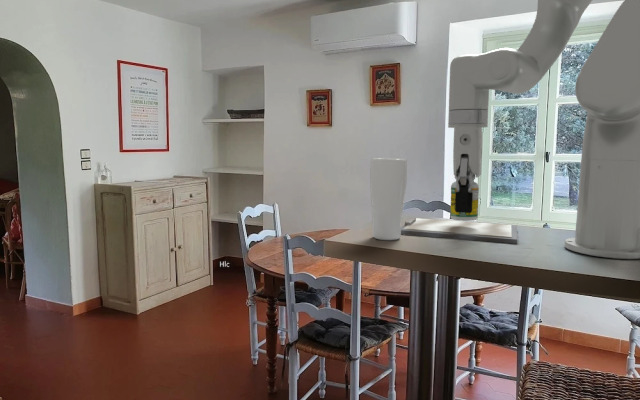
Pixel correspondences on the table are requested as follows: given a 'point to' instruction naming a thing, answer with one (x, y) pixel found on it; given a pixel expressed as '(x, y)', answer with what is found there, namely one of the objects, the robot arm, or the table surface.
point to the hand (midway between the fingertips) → (464, 209)
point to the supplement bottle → (474, 213)
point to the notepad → (461, 230)
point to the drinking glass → (387, 196)
